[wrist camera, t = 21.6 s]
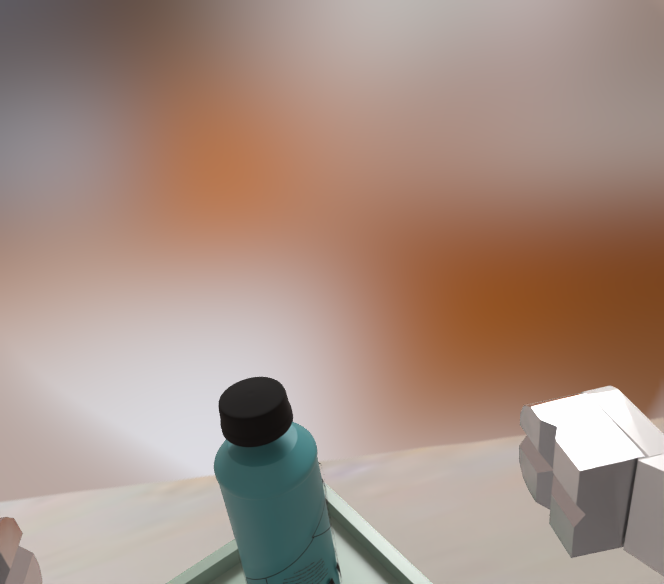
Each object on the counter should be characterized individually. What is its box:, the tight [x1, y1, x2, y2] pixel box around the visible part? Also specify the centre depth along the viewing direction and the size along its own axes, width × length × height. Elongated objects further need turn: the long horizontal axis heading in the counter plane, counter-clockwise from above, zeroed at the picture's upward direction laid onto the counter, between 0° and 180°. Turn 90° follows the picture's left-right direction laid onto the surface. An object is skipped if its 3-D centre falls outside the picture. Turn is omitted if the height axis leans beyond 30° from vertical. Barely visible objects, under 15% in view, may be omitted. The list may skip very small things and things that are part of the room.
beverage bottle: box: [214, 377, 342, 584], centre depth 38 cm, size 6×7×20 cm
